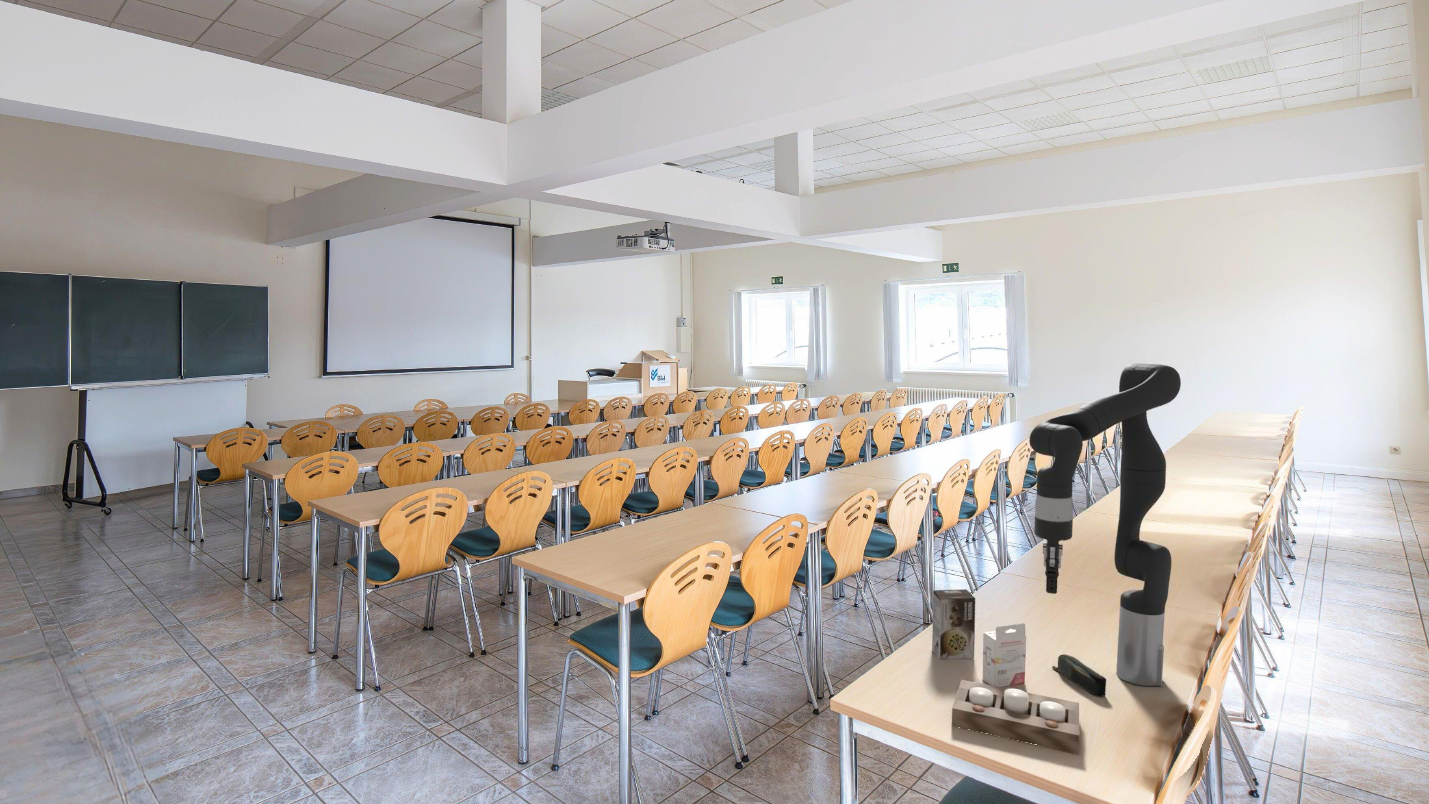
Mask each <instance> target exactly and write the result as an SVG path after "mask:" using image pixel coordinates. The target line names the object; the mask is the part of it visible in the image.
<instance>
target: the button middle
mask: <svg viewBox="0 0 1429 804" xmlns="http://www.w3.org/2000/svg"><path fill="white" fill-rule="evenodd" d="M1006 689H1007V690H1005V691H1004V710H1008V711H1012V712H1017V713H1022V714H1027V715H1028V705H1029V695H1028V694H1027V693H1028V692H1027V693H1026V691H1024V690H1022V689H1018V688H1006Z"/></svg>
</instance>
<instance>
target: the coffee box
mask: <svg viewBox="0 0 1429 804" xmlns="http://www.w3.org/2000/svg"><path fill="white" fill-rule="evenodd" d="M975 625H976V597H975V596H974V595H973V594H972V593H971V592H970V591H969V590H968V589H964V588H963V589H934V590H933V592H932V631H931V632H932V635H931V637H932V640H931V642H932V643H931V648H932V649H931V650H932V651H933V652H934V654H935V655H936V657H937V658H938V659H939V660H962V659H963V660H964V659H965V660H967V659H972V660H973V659H975V643H976V642H975V641H976V640H975V637H976V636H975V635H976V634H975V632H976V630H975V629H976V626H975Z"/></svg>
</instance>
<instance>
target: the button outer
mask: <svg viewBox="0 0 1429 804" xmlns="http://www.w3.org/2000/svg"><path fill="white" fill-rule="evenodd" d="M969 703H974V704H979V705H984V706H989V707H993V693H992V692H991V691H990V690H988V689H986V688H981V687H974V688H971V689H970V693H969Z"/></svg>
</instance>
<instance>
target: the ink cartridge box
mask: <svg viewBox="0 0 1429 804" xmlns="http://www.w3.org/2000/svg"><path fill="white" fill-rule="evenodd" d="M1026 633H1027V632H1026V624H1025V623H1023V622H1022V623H1017V624H1016V623H1015V624H1008V625H1001V626H996V627H995V630H993V631H983V635H982V636H983V639H982V641H983V643H982V645H983V646H982V680H983V681H985V682H986V683H987V684H988V685H991V686H996V687H1001V688H1004V687H1009V686H1014V685H1022V684H1024V683H1025V682H1026V659H1027V658H1026V653H1027V652H1026V651H1027V635H1026Z"/></svg>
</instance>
